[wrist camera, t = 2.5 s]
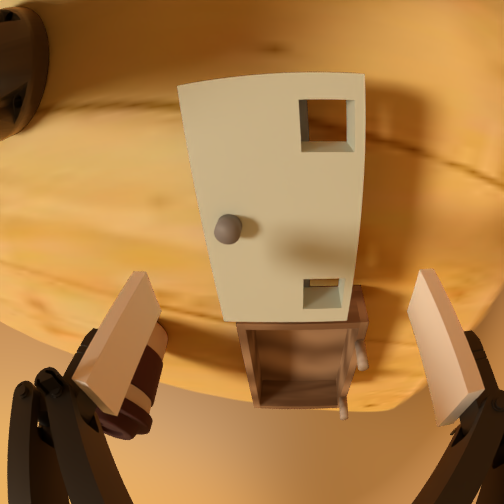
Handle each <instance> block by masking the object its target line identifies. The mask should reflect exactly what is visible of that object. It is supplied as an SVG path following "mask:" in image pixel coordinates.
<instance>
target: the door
mask: <svg viewBox="0 0 504 504" xmlns="http://www.w3.org/2000/svg"><path fill="white" fill-rule="evenodd" d="M177 90H178V96H179V103H180V109H181V115H182V121H183V127H184V133H185V138H186V144H187V150H188V155H189V161H190V166H191V171H192V177H193V182H194V187H195V192H196V197H197V202H198V207H199V212H200V217H201V222H202V227H203V231H204V236H205V241H206V245H207V250H208V254H209V259H210V263H211V268H212V272H213V277H214V281H215V285H216V290H217V294H218V298H219V302H220V306H221V311H222V315H223V319H224V321H232V322H324V321H347V317H348V311H349V305H350V299H351V293H352V286H353V279H354V272H355V265H356V257H357V249H358V240H359V231H360V221H361V210H362V197H363V182H364V163H365V127H366V105H365V74H360V73H347V72H285V73H267V74H254V75H244V76H234V77H226V78H218V79H211V80H205V81H198V82H193V83H187V84H183V85H179V86H177ZM303 99H338V100H346V119H347V141H302V142H301V134H300V116H299V100H303ZM303 279H339V283H338V287H303Z"/></svg>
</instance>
